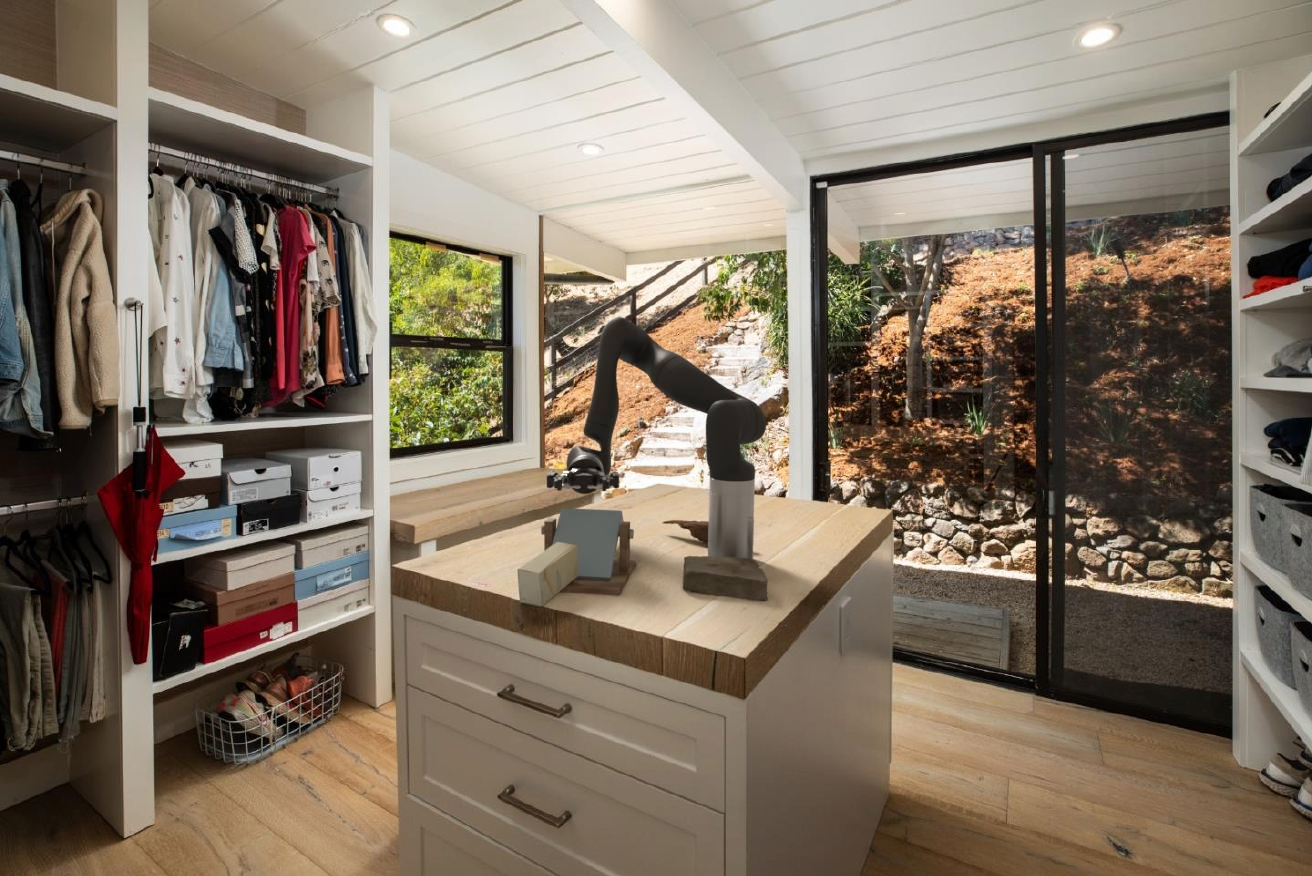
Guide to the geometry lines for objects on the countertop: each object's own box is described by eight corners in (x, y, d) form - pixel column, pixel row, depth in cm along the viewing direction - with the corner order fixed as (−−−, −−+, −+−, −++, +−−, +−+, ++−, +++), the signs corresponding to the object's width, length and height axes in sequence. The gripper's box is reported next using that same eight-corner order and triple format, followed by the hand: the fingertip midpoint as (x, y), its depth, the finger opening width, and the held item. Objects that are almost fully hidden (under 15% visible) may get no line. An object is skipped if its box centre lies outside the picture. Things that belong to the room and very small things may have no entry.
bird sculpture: (668, 531, 166) (669, 511, 166) (760, 548, 151) (760, 526, 151) (652, 536, 161) (653, 515, 160) (745, 554, 146) (746, 531, 146)
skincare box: (579, 576, 121) (542, 608, 111) (557, 571, 123) (519, 603, 112) (577, 543, 120) (539, 573, 109) (555, 539, 121) (516, 568, 111)
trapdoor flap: (565, 521, 136) (561, 508, 133) (624, 524, 135) (621, 510, 131) (549, 587, 126) (544, 573, 123) (613, 590, 125) (610, 577, 121)
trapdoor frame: (552, 560, 138) (552, 512, 137) (638, 565, 136) (638, 516, 135) (522, 589, 119) (522, 533, 118) (621, 595, 117) (622, 538, 116)
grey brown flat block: (768, 603, 115) (769, 579, 115) (681, 601, 116) (682, 577, 116) (758, 574, 132) (759, 553, 131) (682, 572, 133) (683, 551, 132)
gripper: (552, 455, 144) (543, 465, 128) (619, 456, 145) (619, 466, 128) (552, 490, 144) (543, 504, 128) (619, 490, 145) (619, 505, 129)
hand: (581, 485), depth 128 cm, fingers open, 8 cm apart
